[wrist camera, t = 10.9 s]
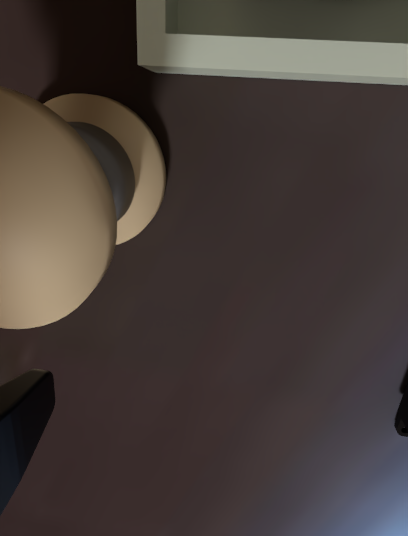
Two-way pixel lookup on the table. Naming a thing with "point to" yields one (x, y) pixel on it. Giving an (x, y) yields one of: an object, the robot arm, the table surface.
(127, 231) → the bobbin
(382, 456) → the table surface
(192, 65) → the tray
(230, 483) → the table surface
